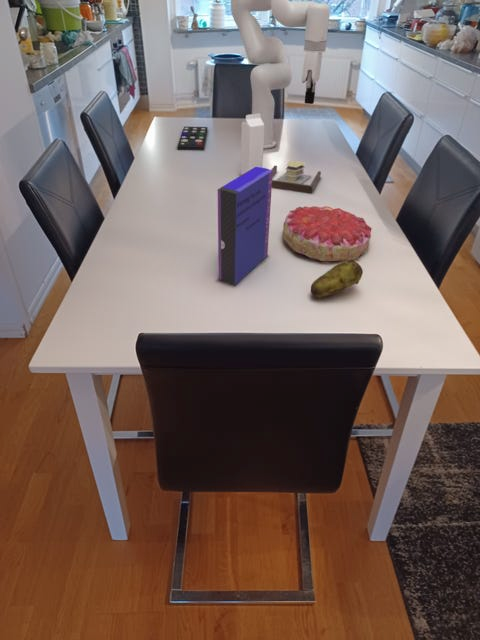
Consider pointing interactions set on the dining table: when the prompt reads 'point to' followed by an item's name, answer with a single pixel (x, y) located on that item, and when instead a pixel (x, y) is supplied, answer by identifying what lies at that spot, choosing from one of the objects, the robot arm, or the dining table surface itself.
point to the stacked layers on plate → (294, 173)
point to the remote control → (192, 138)
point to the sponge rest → (295, 184)
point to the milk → (252, 143)
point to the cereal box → (243, 224)
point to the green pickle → (337, 279)
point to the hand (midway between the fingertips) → (309, 103)
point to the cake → (326, 233)
